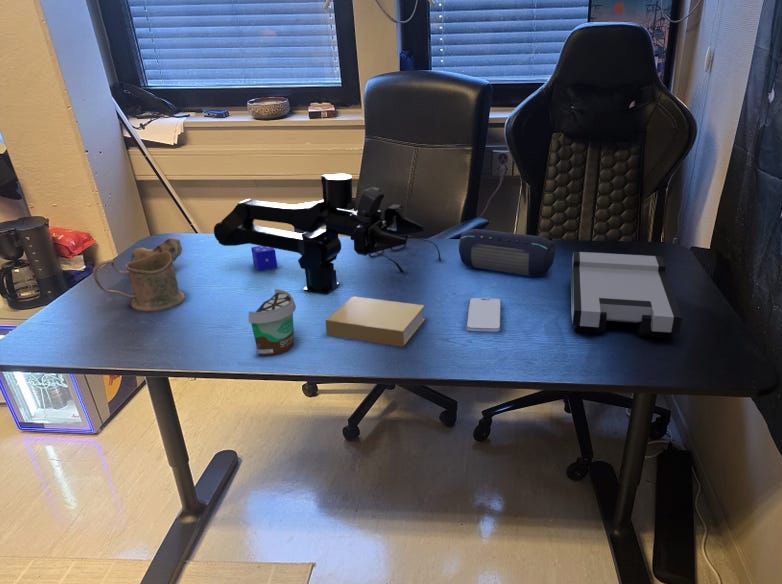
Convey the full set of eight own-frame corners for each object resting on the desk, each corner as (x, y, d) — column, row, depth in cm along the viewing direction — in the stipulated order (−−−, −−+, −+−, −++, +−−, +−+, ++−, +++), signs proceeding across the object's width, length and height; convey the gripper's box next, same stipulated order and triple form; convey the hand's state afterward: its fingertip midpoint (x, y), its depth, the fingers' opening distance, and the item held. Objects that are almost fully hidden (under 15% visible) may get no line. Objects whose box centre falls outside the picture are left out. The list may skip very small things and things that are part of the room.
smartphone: (465, 327, 132) (469, 297, 145) (465, 332, 133) (469, 302, 146) (500, 328, 132) (501, 298, 145) (500, 333, 132) (501, 303, 145)
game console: (570, 341, 129) (574, 304, 125) (570, 283, 156) (573, 251, 152) (675, 349, 126) (683, 312, 122) (656, 288, 153) (661, 256, 149)
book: (326, 335, 131) (325, 320, 129) (353, 310, 142) (352, 296, 140) (403, 347, 126) (402, 331, 125) (424, 319, 137) (424, 305, 136)
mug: (95, 309, 142) (80, 258, 136) (170, 287, 153) (159, 239, 148) (117, 324, 135) (102, 272, 129) (194, 300, 147) (183, 251, 141)
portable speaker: (452, 270, 164) (452, 233, 159) (465, 258, 172) (466, 222, 167) (546, 284, 156) (550, 245, 151) (556, 270, 164) (559, 233, 159)
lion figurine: (188, 267, 166) (181, 234, 161) (185, 274, 161) (178, 240, 157) (128, 271, 163) (119, 237, 158) (123, 278, 158) (114, 244, 154)
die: (258, 271, 163) (255, 252, 161) (253, 265, 167) (250, 247, 164) (277, 267, 165) (275, 249, 163) (272, 262, 169) (269, 244, 167)
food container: (284, 363, 120) (278, 316, 116) (255, 360, 122) (247, 313, 117) (309, 335, 131) (304, 290, 126) (282, 332, 132) (276, 288, 127)
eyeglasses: (408, 245, 181) (408, 232, 179) (445, 259, 171) (445, 245, 169) (362, 259, 171) (361, 245, 169) (398, 274, 161) (397, 259, 159)
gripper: (327, 199, 130) (395, 210, 125) (370, 178, 145) (432, 187, 140) (330, 250, 136) (395, 263, 131) (371, 224, 151) (431, 235, 146)
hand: (414, 235), depth 137 cm, fingers open, 9 cm apart
